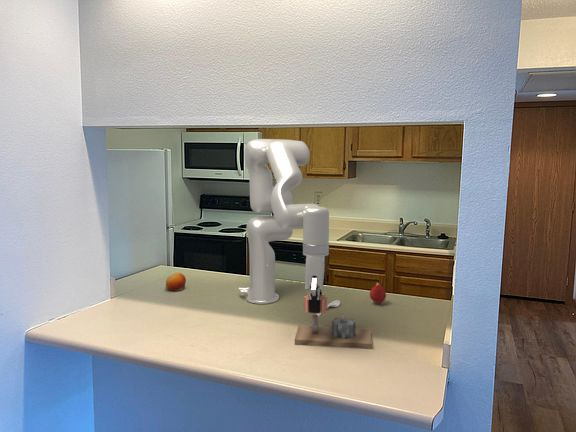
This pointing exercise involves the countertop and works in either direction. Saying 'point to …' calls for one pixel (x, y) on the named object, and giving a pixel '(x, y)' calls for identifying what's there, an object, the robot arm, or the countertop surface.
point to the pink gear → (322, 303)
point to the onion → (378, 294)
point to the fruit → (176, 282)
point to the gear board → (334, 334)
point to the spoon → (331, 305)
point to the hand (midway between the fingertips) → (315, 307)
